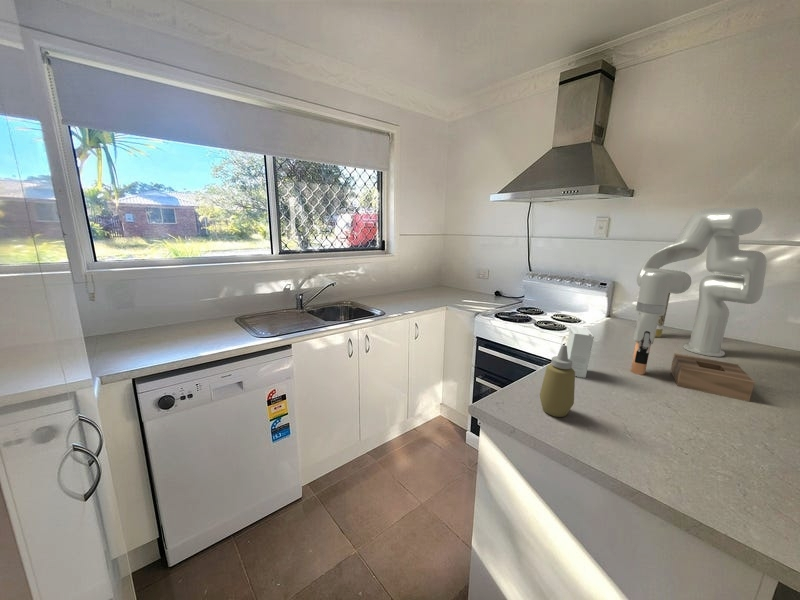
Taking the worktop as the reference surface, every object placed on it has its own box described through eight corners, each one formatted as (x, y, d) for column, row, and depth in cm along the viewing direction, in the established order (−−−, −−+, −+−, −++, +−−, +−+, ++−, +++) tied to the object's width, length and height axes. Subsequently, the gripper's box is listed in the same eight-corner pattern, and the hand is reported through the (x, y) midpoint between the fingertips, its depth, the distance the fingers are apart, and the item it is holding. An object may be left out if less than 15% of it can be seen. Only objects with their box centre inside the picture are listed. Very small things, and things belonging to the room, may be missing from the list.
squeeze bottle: (570, 424, 79) (581, 354, 75) (535, 413, 83) (544, 346, 79) (573, 409, 86) (583, 344, 82) (540, 400, 90) (548, 338, 86)
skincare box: (562, 366, 114) (568, 325, 111) (581, 368, 113) (588, 327, 109) (566, 375, 106) (573, 332, 103) (587, 378, 105) (594, 334, 102)
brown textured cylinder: (664, 338, 151) (675, 285, 146) (647, 336, 152) (658, 284, 147) (656, 334, 157) (666, 283, 152) (640, 332, 159) (650, 282, 153)
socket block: (670, 369, 115) (674, 353, 114) (732, 381, 107) (737, 364, 105) (677, 385, 102) (681, 367, 101) (749, 401, 93) (754, 382, 92)
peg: (630, 368, 114) (637, 330, 111) (644, 371, 112) (652, 332, 109) (630, 372, 111) (638, 333, 108) (645, 375, 109) (653, 335, 106)
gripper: (635, 302, 116) (626, 350, 119) (637, 311, 102) (627, 365, 105) (661, 305, 112) (651, 355, 115) (668, 315, 98) (656, 371, 101)
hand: (640, 359), depth 110 cm, fingers open, 5 cm apart
